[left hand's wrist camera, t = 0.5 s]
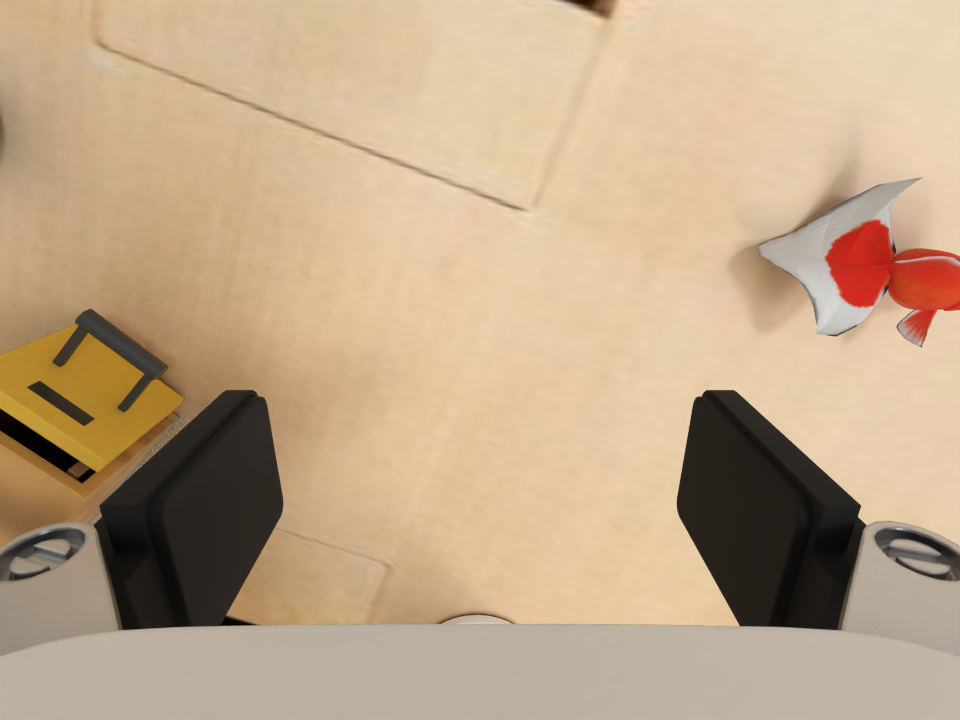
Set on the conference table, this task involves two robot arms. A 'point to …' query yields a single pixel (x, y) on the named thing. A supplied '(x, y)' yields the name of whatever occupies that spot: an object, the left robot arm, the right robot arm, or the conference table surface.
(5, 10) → the conference table surface
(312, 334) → the conference table surface
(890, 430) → the conference table surface
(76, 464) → the drawer
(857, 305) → the fish
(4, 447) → the cabinet
